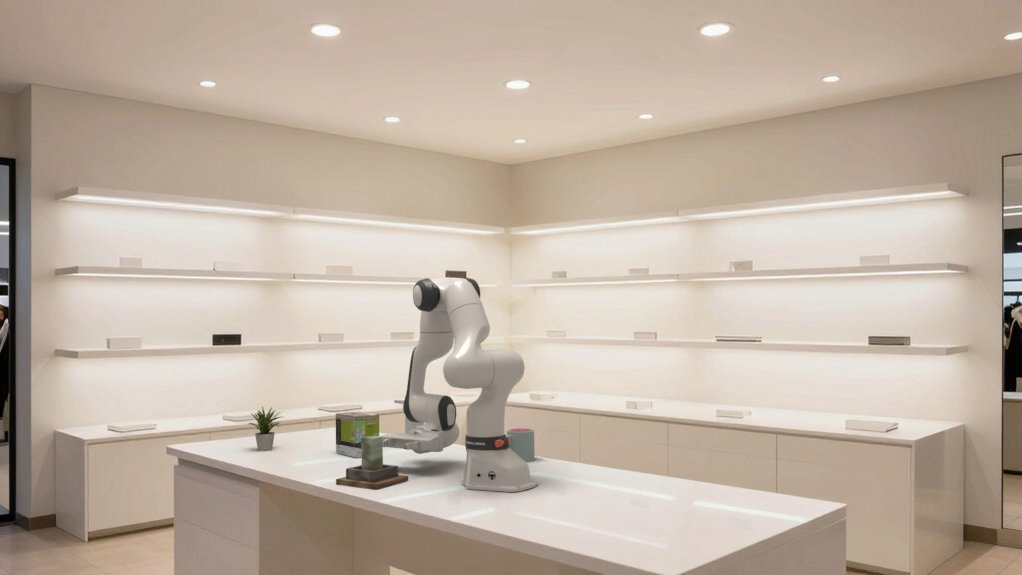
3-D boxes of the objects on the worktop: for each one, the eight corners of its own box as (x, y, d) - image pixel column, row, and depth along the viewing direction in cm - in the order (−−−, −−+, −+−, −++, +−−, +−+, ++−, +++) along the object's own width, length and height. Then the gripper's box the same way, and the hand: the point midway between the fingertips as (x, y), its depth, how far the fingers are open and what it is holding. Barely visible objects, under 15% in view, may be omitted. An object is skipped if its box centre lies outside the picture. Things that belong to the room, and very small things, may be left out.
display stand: (408, 480, 251) (408, 465, 251) (376, 489, 239) (376, 473, 239) (368, 475, 260) (368, 461, 260) (336, 484, 248) (335, 468, 248)
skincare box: (413, 449, 308) (412, 417, 308) (405, 448, 310) (404, 416, 310) (424, 447, 312) (424, 415, 313) (416, 446, 315) (415, 414, 315)
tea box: (380, 455, 297) (380, 413, 298) (355, 458, 291) (355, 416, 291) (359, 450, 309) (358, 410, 309) (334, 453, 302) (334, 412, 303)
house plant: (278, 453, 304) (278, 408, 305) (240, 454, 305) (240, 409, 305) (289, 447, 319) (288, 404, 319) (253, 447, 319) (252, 404, 319)
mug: (520, 456, 289) (520, 427, 289) (540, 459, 282) (539, 430, 283) (491, 462, 279) (491, 432, 280) (511, 465, 273) (510, 434, 273)
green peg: (382, 476, 250) (382, 436, 250) (372, 479, 246) (372, 438, 247) (371, 475, 252) (371, 435, 253) (361, 478, 249) (361, 437, 249)
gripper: (397, 427, 275) (368, 433, 264) (446, 431, 264) (419, 437, 253) (397, 446, 275) (368, 453, 263) (447, 451, 264) (419, 458, 252)
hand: (393, 445), depth 258 cm, fingers open, 8 cm apart
